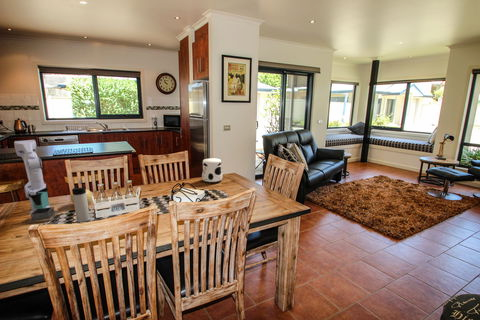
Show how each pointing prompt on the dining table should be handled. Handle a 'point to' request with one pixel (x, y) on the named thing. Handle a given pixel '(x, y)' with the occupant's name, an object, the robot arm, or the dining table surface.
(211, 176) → the milk container
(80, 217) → the travel mug
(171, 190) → the dining table surface
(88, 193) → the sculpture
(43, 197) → the teal rectangular block
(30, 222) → the mounting board
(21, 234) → the dining table surface
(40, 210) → the cup bracket
